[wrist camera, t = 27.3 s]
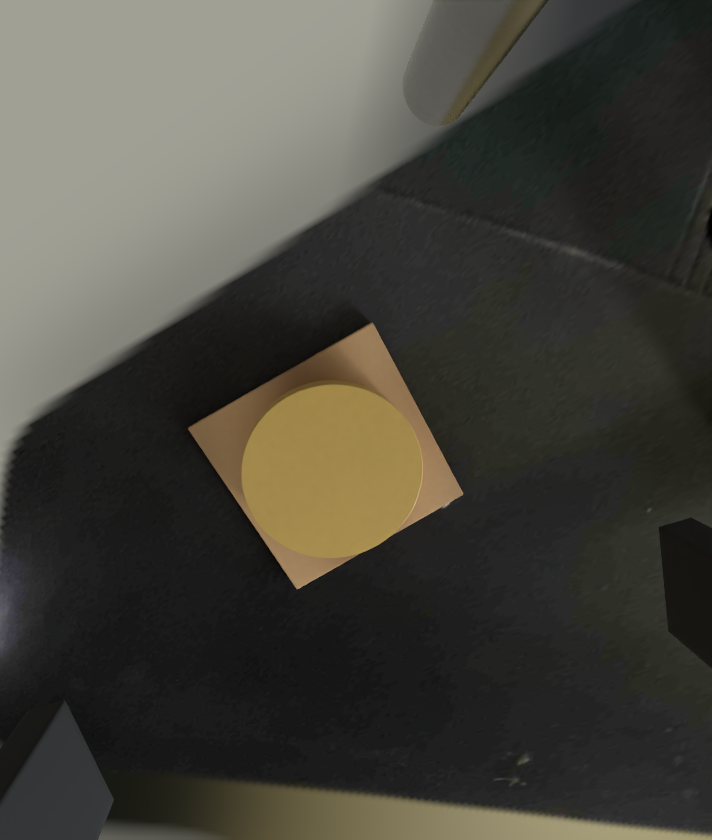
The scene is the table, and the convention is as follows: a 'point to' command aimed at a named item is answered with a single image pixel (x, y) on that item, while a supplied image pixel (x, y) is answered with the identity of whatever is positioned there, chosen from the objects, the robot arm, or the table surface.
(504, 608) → the table surface
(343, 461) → the jar lid
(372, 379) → the coaster
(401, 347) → the table surface
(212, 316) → the table surface
